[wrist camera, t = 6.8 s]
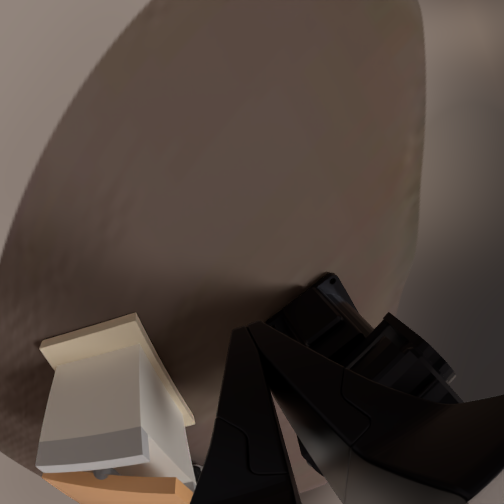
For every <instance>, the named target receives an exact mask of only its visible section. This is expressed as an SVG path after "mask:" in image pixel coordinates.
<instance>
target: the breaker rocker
mask: <svg viewBox="0 0 504 504" xmlns="http://www.w3.org/2000/svg"><path fill="white" fill-rule="evenodd" d="M42 478H43V479H44V480H46V481H47V482H49V483H50V484H51V485H53V486H54V487H56V488H57V489H58V490H60V491H61V492H63V493H64V494H66V495H67V496H69V497H70V498H72V499H74V500H75V501H77V502H78V503H80V504H190V501H191V499H192V496H193V492H192V491H191V490H190V489H189V488H187V487H186V486H185V485H184V484H183V483H182V482H181V481H180V480H179V479H177V478H176V477H137V476H122V475H121V474H119V473H118V472H117V471H116V470H115V469H113V468H107V469H99V470H93V473H90V472H82V471H77V472H61V473H43V475H42Z"/></svg>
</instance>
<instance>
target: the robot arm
mask: <svg viewBox="0 0 504 504" xmlns="http://www.w3.org/2000/svg"><path fill="white" fill-rule="evenodd" d="M332 278H333V280H332V281H331V282H330V280H331V279H332ZM383 319H384V320H383V321H382V322H381V323H380V324H379V325H378V326H377V327H376V328H375V329H374V328H373V327H372V326H371V325H370V324H369V323H368V322H367V321H366V320H365V319H364V318H363V317H362V316H361V315H360V314H359V313H358V311H357V309H356V307H355V306H354V304H353V302H352V300H351V299H350V297H349V295H348V293H347V292H346V290H345V288H344V286H343V285H342V283H341V281H340V279H339V278H338V276H337V275H335V274H334V273H329V274H327V275H326V276H325V277H324V278H322V279H321V280H320V281H318V282H317V283H316V284H315V285H313V286H312V287H311V288H310V289H308V290H307V291H306V292H304V293H303V294H302V295H301V296H299V297H298V298H297V299H295V300H294V301H293V302H292V303H290V304H289V305H288V306H286V307H285V308H284V309H282V310H281V311H280V312H278V313H277V314H276V315H274V316H273V317H272V318H270V319H269V320H268V321H267V322H266V323H263V322H262V321H256V322H253V323H250V324H248V325H247V327H246V326H242V327H239V328H236V329H233V330H232V332H231V338H230V343H229V348H228V354H227V359H226V364H225V370H224V375H223V380H222V386H221V391H220V397H219V402H218V407H217V413H216V419H215V423H214V428H213V433H212V437H211V442H210V446H209V449H208V453H207V456H206V459H205V462H204V465H203V468H202V471H201V474H200V476H199V479H198V482H197V485H196V488H195V490H194V493H193V496H192V499H191V501H190V504H302V503H301V499H300V496H299V492H298V489H297V485H296V482H295V478H294V475H293V471H292V467H291V464H290V460H289V457H288V453H287V449H286V446H285V442H284V439H283V435H282V431H281V428H280V424H279V420H278V417H277V413H276V409H275V405H274V402H273V398H272V395H273V396H274V398H275V400H276V402H277V403H278V405H279V407H280V408H281V410H282V411H283V413H284V415H285V416H286V418H287V420H288V421H289V423H290V424H291V426H292V428H293V429H294V431H295V432H296V434H297V438H298V443H299V447H300V451H301V454H302V456H303V457H304V458H305V459H306V461H307V463H308V464H309V465H310V466H311V467H313V468H314V469H315V470H316V471H317V472H318V473H319V474H321V475H322V476H324V477H325V478H326V480H327V481H328V483H329V484H330V486H331V487H332V489H333V490H334V492H335V493H336V495H337V496H338V498H339V499H340V500H341V502H342V503H343V504H504V394H503V395H499V396H495V397H490V398H485V399H480V400H475V401H470V402H465V403H464V402H463V401H462V400H461V398H459V396H458V395H457V394H456V393H455V392H454V391H453V389H452V388H451V387H450V386H449V385H448V384H449V383H450V382H451V381H452V380H453V379H454V378H455V377H456V374H455V373H454V371H453V370H452V368H451V367H450V366H449V365H448V364H447V362H446V361H445V360H444V359H443V358H442V357H441V356H440V355H439V354H438V353H437V352H436V351H435V350H434V349H433V348H432V347H431V346H430V345H429V344H428V343H427V342H426V341H425V340H424V339H422V338H421V337H420V336H419V335H417V334H416V333H415V332H414V331H412V330H411V329H409V327H407V326H406V325H405V324H403V323H402V322H401V321H400V320H398V319H397V318H396V317H394V316H393V315H392V314H391V313H389V312H388V313H387V314H386V315H385V316H384V318H383ZM271 325H274V326H273V327H270V326H271ZM271 393H272V395H271Z"/></svg>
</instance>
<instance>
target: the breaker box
mask: <svg viewBox="0 0 504 504" xmlns="http://www.w3.org/2000/svg"><path fill="white" fill-rule="evenodd" d="M39 349H40V351H41V352H42V354H43V355H44V357H45V358H46V359H47V361H48V362H49V364H50V365H51V366H52V368H53V369H54V370H55V375H54V378H53V382H52V386H51V390H50V394H49V398H48V402H47V406H46V411H45V415H44V420H43V425H42V430H41V435H40V440H39V446H38V452H37V458H36V465H35V466H36V467H37V468H38V469H40V470H41V471H42V472H43V473H61V472H77V471H82V472H90V473H93V470H99V469H107V468H113V469H115V470H116V471H117V472H118V473H119V474H121V475H122V476H137V477H176V478H177V479H179V480H180V481H181V482H182V483H183V484H184V485H185V486H186V487H187V488H189V489H190V490H191V491H192V492H193V493H194V490H195V488H196V485H197V484H196V480H195V475H194V471H193V466H192V461H191V457H190V452H189V447H188V441H187V436H186V431H185V427H187V426H190V425H194V424H195V420H194V416H193V414H192V412H191V411H190V409H189V408H188V406H187V404H186V403H185V401H184V399H183V398H182V396H181V394H180V393H179V391H178V389H177V388H176V386H175V384H174V383H173V381H172V379H171V377H170V376H169V374H168V372H167V370H166V369H165V367H164V365H163V363H162V361H161V360H160V358H159V356H158V354H157V352H156V350H155V348H154V347H153V345H152V343H151V341H150V339H149V337H148V335H147V333H146V331H145V329H144V327H143V325H142V323H141V321H140V319H139V317H138V315H137V313H136V312H135V313H132V314H128V315H125V316H122V317H119V318H115V319H112V320H109V321H106V322H102V323H99V324H96V325H93V326H89V327H86V328H83V329H79V330H76V331H73V332H69V333H66V334H62V335H59V336H56V337H52V338H49V339H45V340H42V343H41V345H40V348H39Z"/></svg>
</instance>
